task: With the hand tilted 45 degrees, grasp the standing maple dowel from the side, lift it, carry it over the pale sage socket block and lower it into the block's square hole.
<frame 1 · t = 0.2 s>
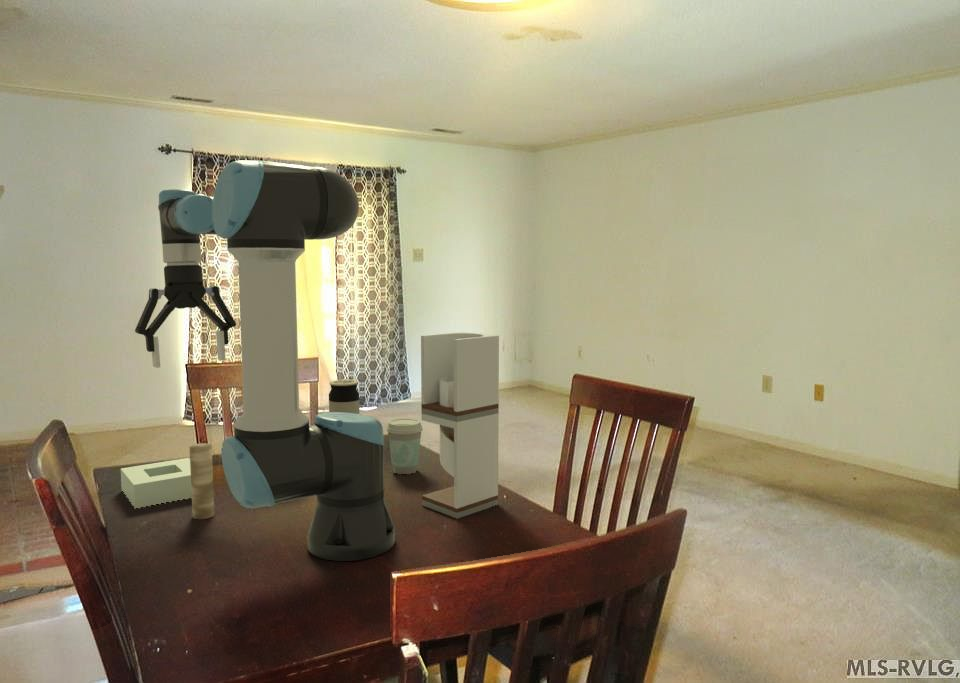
hand: (190, 363, 150), 28 cm above the table, tool pointing down, fingers open, 13 cm apart
wooden puzzle: (276, 476, 163), on the table
coffee cup: (405, 471, 166), on the table
dowel: (203, 515, 137), on the table
socket block: (163, 493, 150), on the table
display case: (460, 505, 143), on the table
travel mug: (345, 448, 188), on the table
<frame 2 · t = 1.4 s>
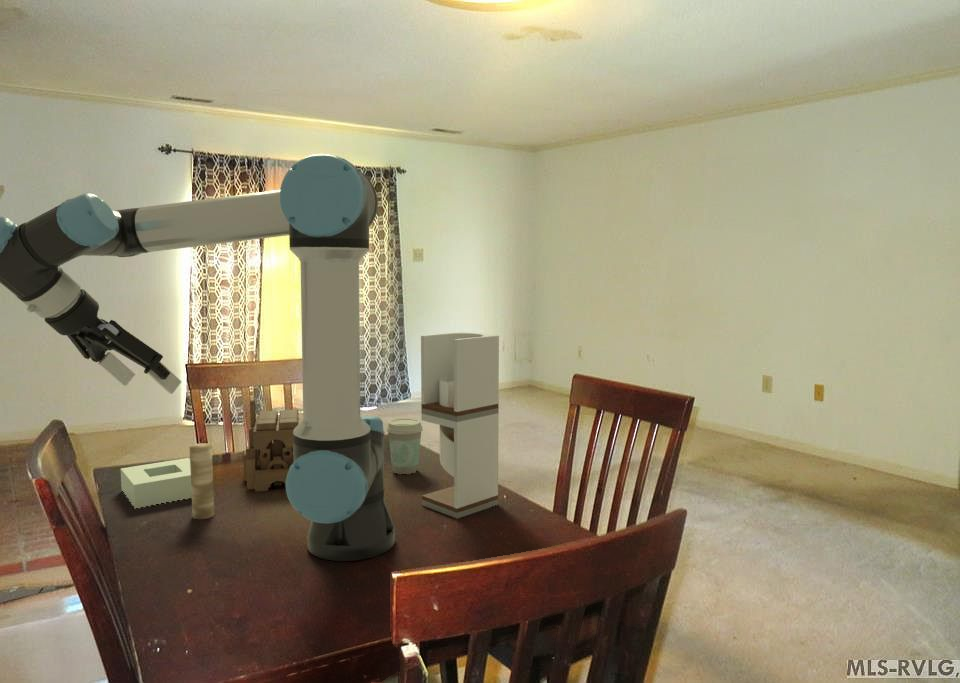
hand: (152, 383, 126), 28 cm above the table, tool tilted 45°, fingers open, 13 cm apart
nothing on the table moved.
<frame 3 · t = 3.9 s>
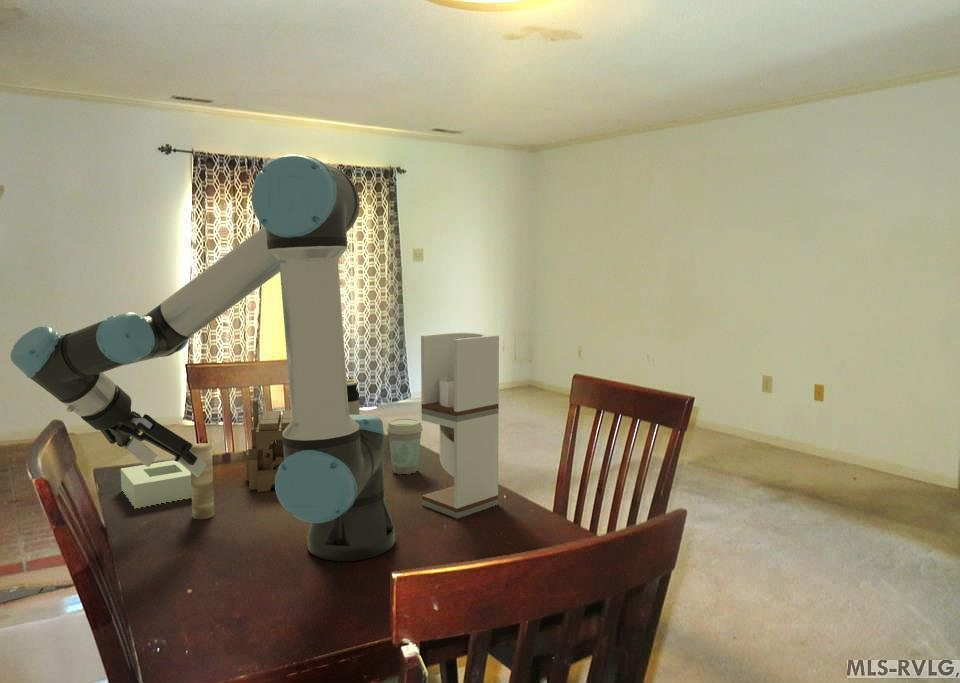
hand: (176, 465, 132), 11 cm above the table, tool tilted 45°, fingers open, 13 cm apart
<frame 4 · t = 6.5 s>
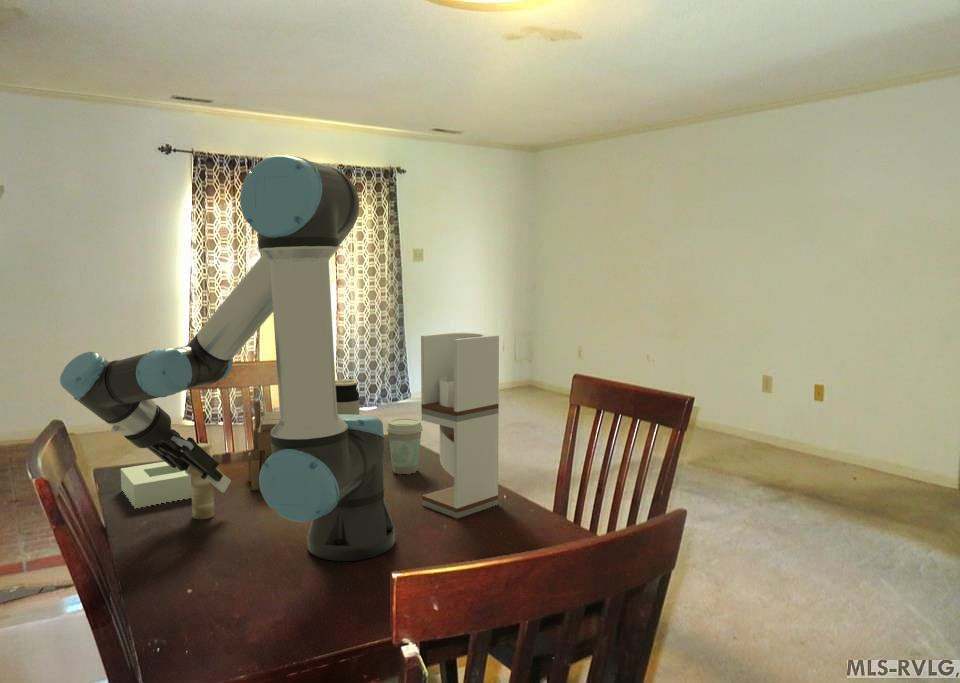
hand: (218, 484, 140), 5 cm above the table, tool tilted 45°, fingers closed on dowel, 4 cm apart
dowel: (203, 515, 137), on the table, touching gripper
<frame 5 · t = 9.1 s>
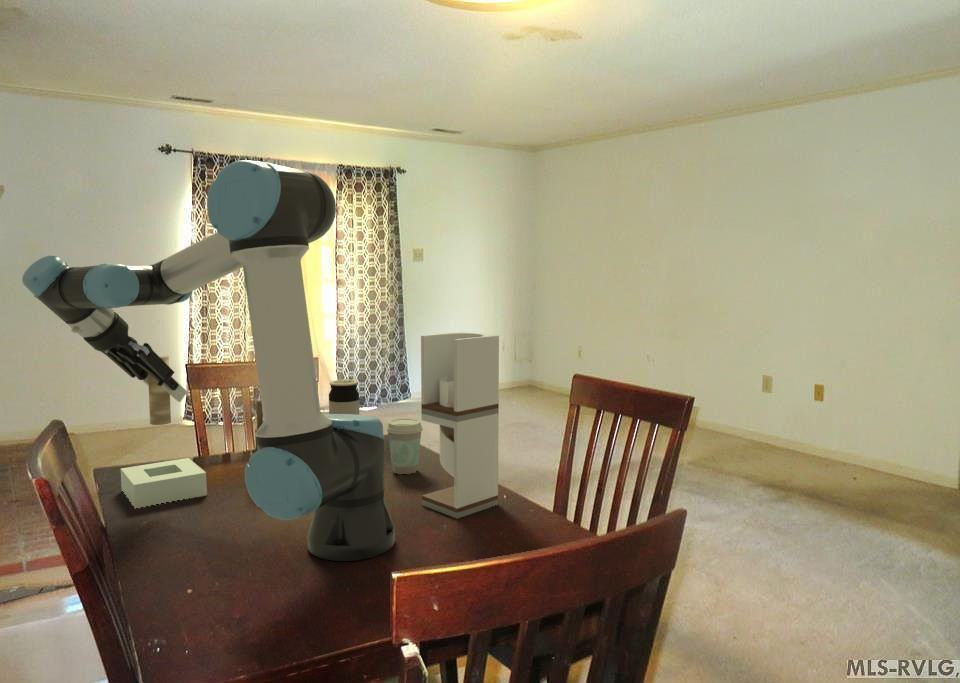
hand: (175, 395, 149), 21 cm above the table, tool tilted 45°, fingers closed on dowel, 4 cm apart
dowel: (160, 422, 147), point 16 cm above the table, touching gripper
when the fingers open (7 cm above the table, at t = 12.0 s): dowel drops 2 cm, resting on socket block.
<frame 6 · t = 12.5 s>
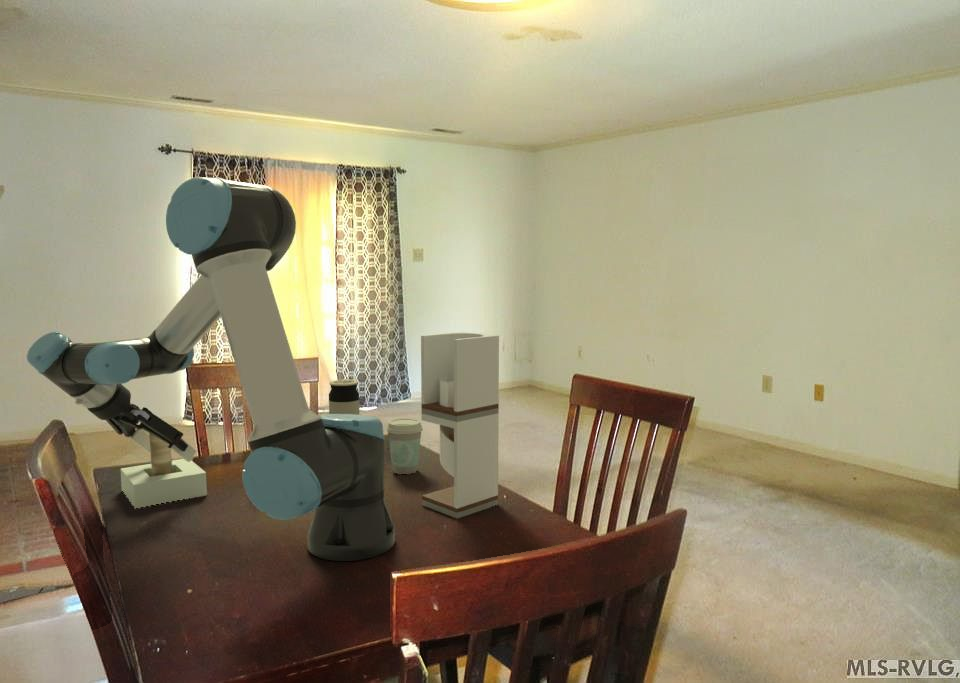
hand: (173, 452, 152), 8 cm above the table, tool tilted 45°, fingers open, 11 cm apart
dowel: (163, 492, 150), resting on socket block
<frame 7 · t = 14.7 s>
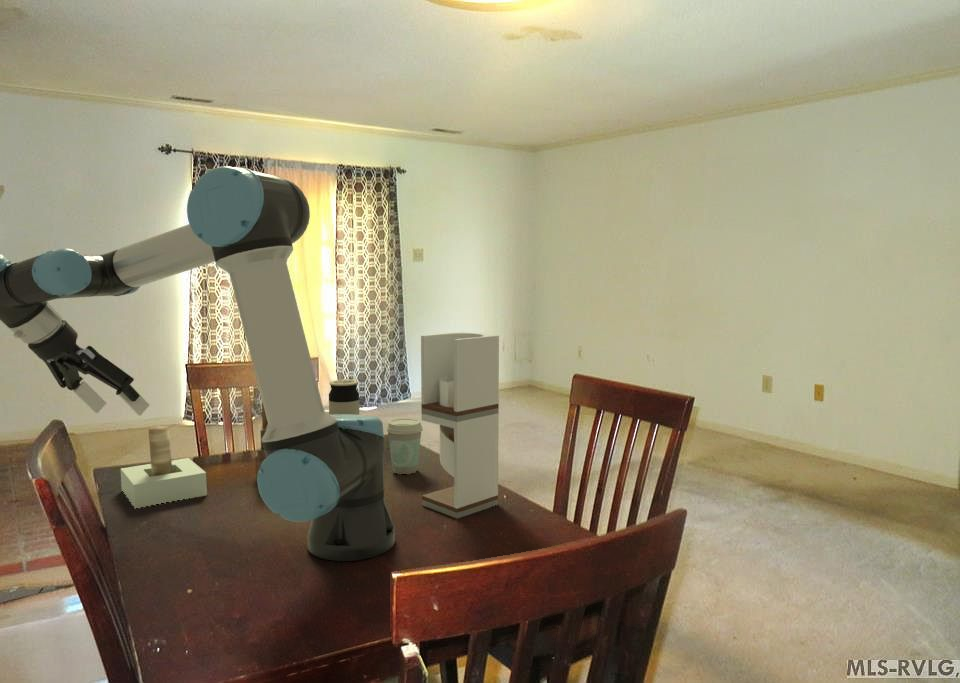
hand: (122, 409, 139), 20 cm above the table, tool tilted 40°, fingers open, 13 cm apart
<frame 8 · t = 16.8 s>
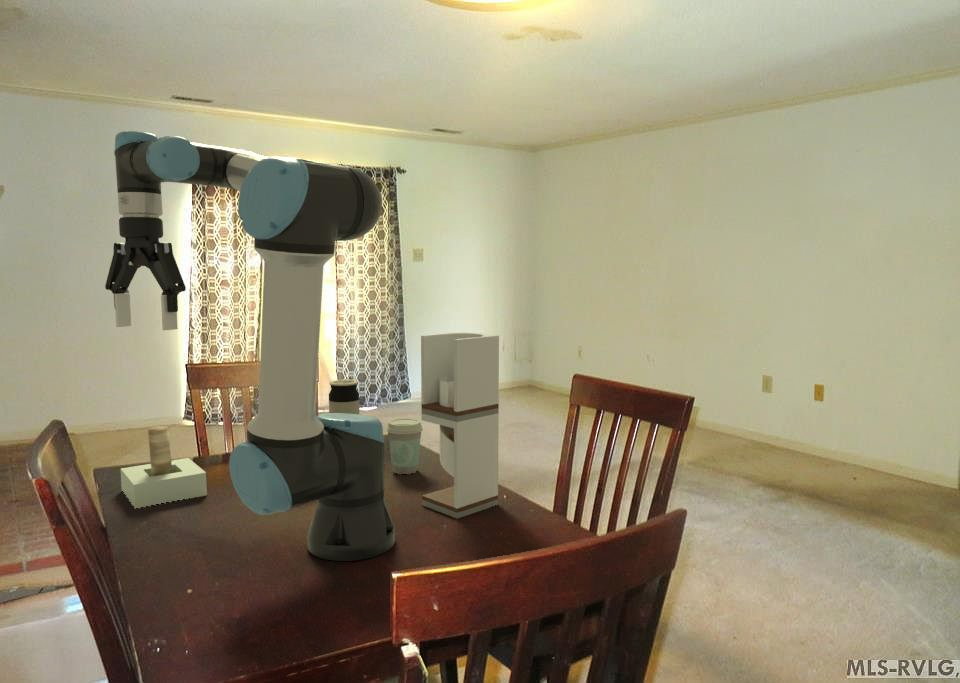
hand: (146, 328, 135), 37 cm above the table, tool pointing down, fingers open, 13 cm apart
at the end: dowel 0.1 cm off-centre on the socket block, point 0.3 cm above the socket block's base; dowel tilted 2°; the gripper is holding nothing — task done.
